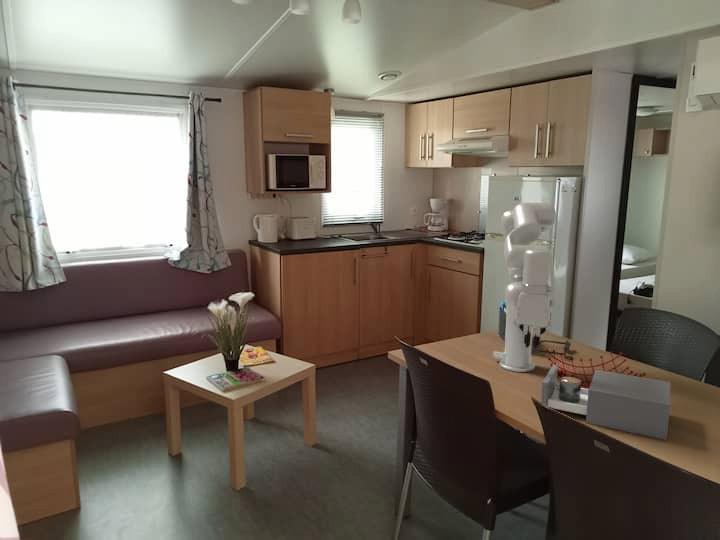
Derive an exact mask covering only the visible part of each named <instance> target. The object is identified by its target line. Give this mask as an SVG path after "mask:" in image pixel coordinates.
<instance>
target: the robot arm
mask: <svg viewBox="0 0 720 540" xmlns="http://www.w3.org/2000/svg"><path fill="white" fill-rule="evenodd" d="M556 221H557V211H556V209H555V206H554V205H553V204H551V203H550V202H549V203H548V202H522V203H518V204H517V205H516V206H515V207H513V209H510V210H507V211H505V212H503V213H502V216H501V220H500V226H501V233H502V236H503V239H504V244H503V254H504V260H505V265H506V266H507V267H508V276H509V278H510V279H511V280H513V281H515V282H511V283H509V284H508V285H507V286H506V287H505V289H504V299H505V303H506V333H505V342H504V351H496V350H493V351H492V356H493V357H494V359H500V360H499V366H500V367H501V368H502V369H505V370H507V371H512V372H520V373H521V372H523V373H526V372H531V371H533V370H535V369H536V364H535V362H534V361H532V354H531V352H532V350H533V349H534V350H537V348H538V347H539V346H540V344H541V343H540V341H541V336H542V335H543V334H544V333H546V332H551V331H553V330H554V325H553V322H552V319H553V308H554V307H555V305H556V304H557V303H556V302H557V293H556V292H557V291H556V281H555V280H556V277H555V269H554V268H555V267H554V263H553V253H552V251H551V249H550V247H548V246H547V245H538V244H537V245H533V243H534V242H536V241H537V240H538V239H539V238H540V237H541V235H542V233H546V232H548V231H549V230H550V229H552V228H553V227H554V226H555V223H556ZM534 327H535V328H536V330H535V334H533V331H534ZM533 335H534V336H533Z"/></svg>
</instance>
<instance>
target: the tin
mask: <svg viewBox="0 0 720 540" xmlns="http://www.w3.org/2000/svg"><path fill="white" fill-rule="evenodd" d="M559 384H560V388H559V399H560V400H562V401H564V402H568V403H578V402H579V401H580V392H581V388H582V380H581V379H579V378H577V377H572V376H561V377H560V379H559Z"/></svg>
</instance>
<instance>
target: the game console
mask: <svg viewBox="0 0 720 540" xmlns="http://www.w3.org/2000/svg"><path fill="white" fill-rule="evenodd" d="M498 313H499V315H498V316H499V317H498V334H499V335H500V336H499V335H498V336H499V337H500V338H501V340H502V339H503V342H504V343H505V333H506V301H501V303H500V306H499V312H498Z"/></svg>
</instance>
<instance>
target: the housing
mask: <svg viewBox="0 0 720 540" xmlns="http://www.w3.org/2000/svg"><path fill="white" fill-rule="evenodd" d="M588 389H589V391H588V403H587V415H585V423H586V424H591V425H594V426H595V425H596V426H600V427H605V428H608V429H612V430H613V429H614V430H618V431H623V432H628V433H633V434H636V435H642V436H645V437H650V438H655V439H660V440H665V441H667V439H668V438H667V437H668V430H669V421H670V414H671V413H670V411H671V382H670V381H665V380H661V379H660V380H659V379H653V378H647V377H642V376H636V375H630V374H624V373H618V372H613V371H606V370H599V369H595V371H594V374H593V377H592V379H591V382H590V385H589V388H588Z"/></svg>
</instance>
